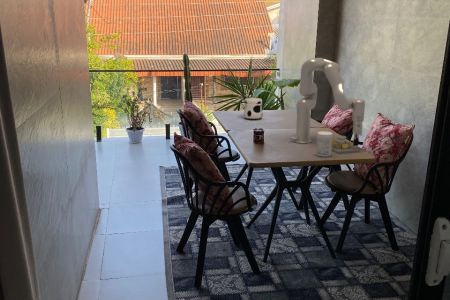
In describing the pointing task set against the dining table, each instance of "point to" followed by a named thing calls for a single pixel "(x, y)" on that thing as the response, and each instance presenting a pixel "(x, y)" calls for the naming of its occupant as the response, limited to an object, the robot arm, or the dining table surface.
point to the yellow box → (342, 146)
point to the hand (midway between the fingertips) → (355, 145)
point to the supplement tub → (324, 144)
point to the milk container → (253, 108)
